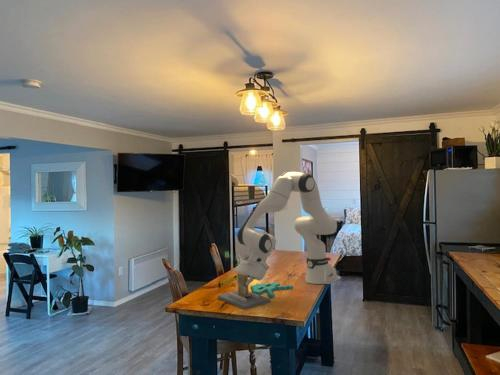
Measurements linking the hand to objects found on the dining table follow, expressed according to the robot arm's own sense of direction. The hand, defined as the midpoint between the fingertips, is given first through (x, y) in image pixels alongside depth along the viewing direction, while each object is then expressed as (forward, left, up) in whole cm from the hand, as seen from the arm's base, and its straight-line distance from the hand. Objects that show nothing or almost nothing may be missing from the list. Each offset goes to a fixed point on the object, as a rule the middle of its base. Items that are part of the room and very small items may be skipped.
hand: (241, 283), depth 185 cm
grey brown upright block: (-1, 0, -6) cm, 6 cm away
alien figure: (-21, -4, -9) cm, 23 cm away
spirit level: (-20, -35, -9) cm, 42 cm away
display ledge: (-1, 0, -9) cm, 9 cm away
